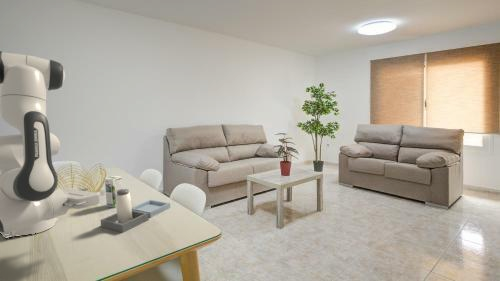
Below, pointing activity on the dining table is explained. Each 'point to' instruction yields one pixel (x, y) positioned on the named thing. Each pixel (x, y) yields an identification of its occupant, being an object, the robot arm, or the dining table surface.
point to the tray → (152, 207)
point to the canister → (123, 206)
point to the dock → (113, 225)
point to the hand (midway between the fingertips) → (95, 191)
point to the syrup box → (112, 189)
